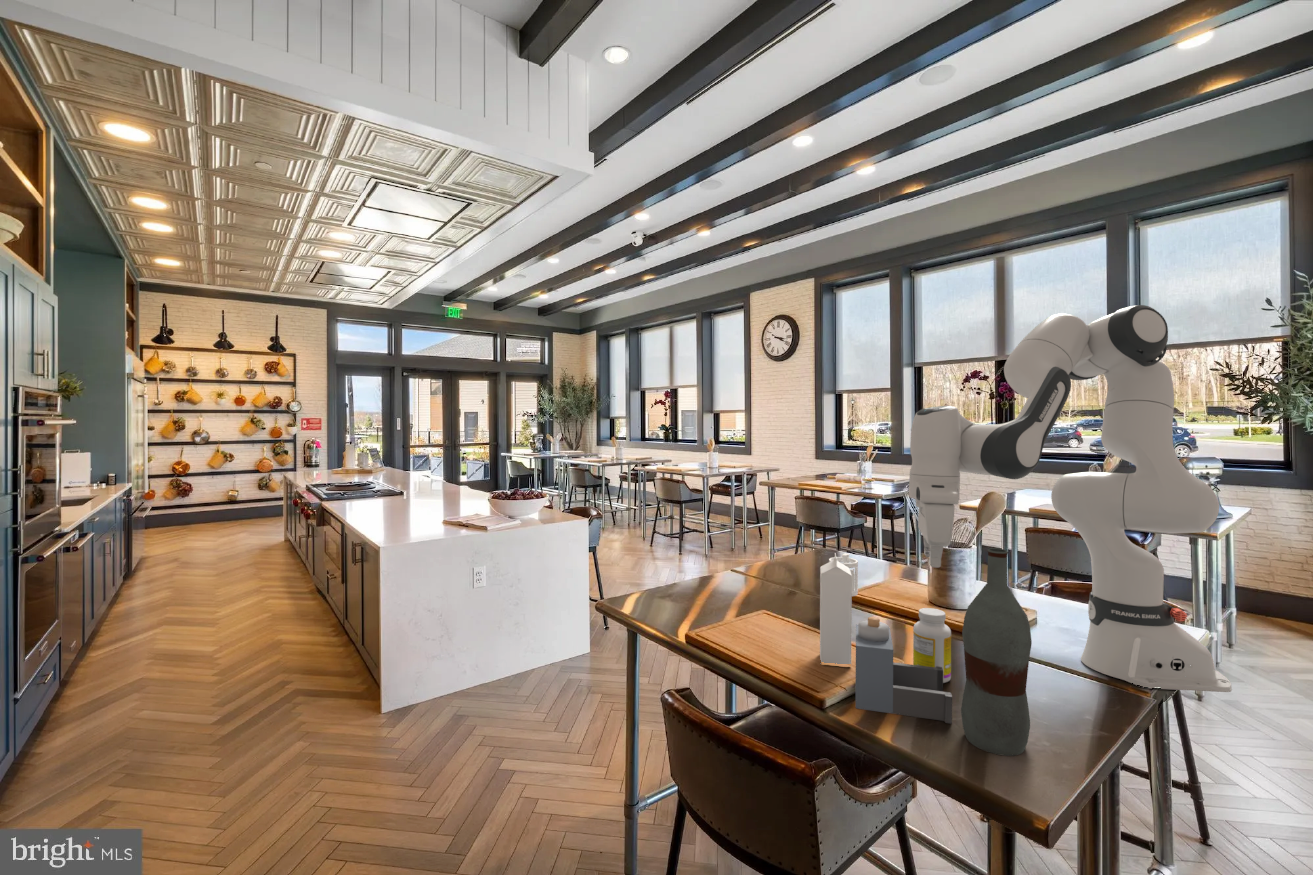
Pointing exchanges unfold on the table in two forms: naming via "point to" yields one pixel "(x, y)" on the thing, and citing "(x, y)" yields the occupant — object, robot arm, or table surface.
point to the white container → (852, 564)
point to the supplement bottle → (932, 641)
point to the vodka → (996, 665)
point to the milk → (835, 613)
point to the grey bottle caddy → (896, 678)
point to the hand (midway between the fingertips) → (932, 561)
